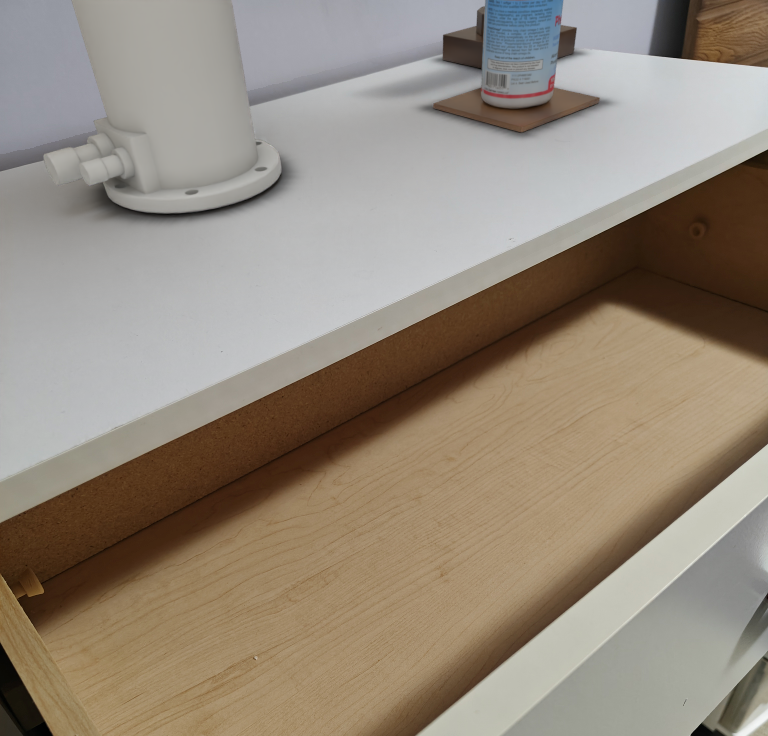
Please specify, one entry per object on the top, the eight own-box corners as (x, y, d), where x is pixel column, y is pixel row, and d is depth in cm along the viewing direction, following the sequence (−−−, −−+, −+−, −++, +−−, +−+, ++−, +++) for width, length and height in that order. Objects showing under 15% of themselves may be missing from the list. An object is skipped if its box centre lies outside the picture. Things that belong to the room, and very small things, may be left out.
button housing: (508, 74, 65) (512, 24, 62) (442, 60, 70) (442, 12, 67) (574, 53, 69) (580, 5, 67) (507, 41, 74) (510, -5, 71)
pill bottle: (564, 104, 56) (587, -73, 48) (496, 114, 55) (508, -65, 47) (533, 86, 61) (549, -80, 52) (469, 95, 60) (476, -73, 51)
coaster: (521, 132, 53) (521, 127, 53) (432, 108, 59) (432, 103, 59) (599, 102, 58) (600, 97, 57) (510, 82, 63) (510, 77, 63)
